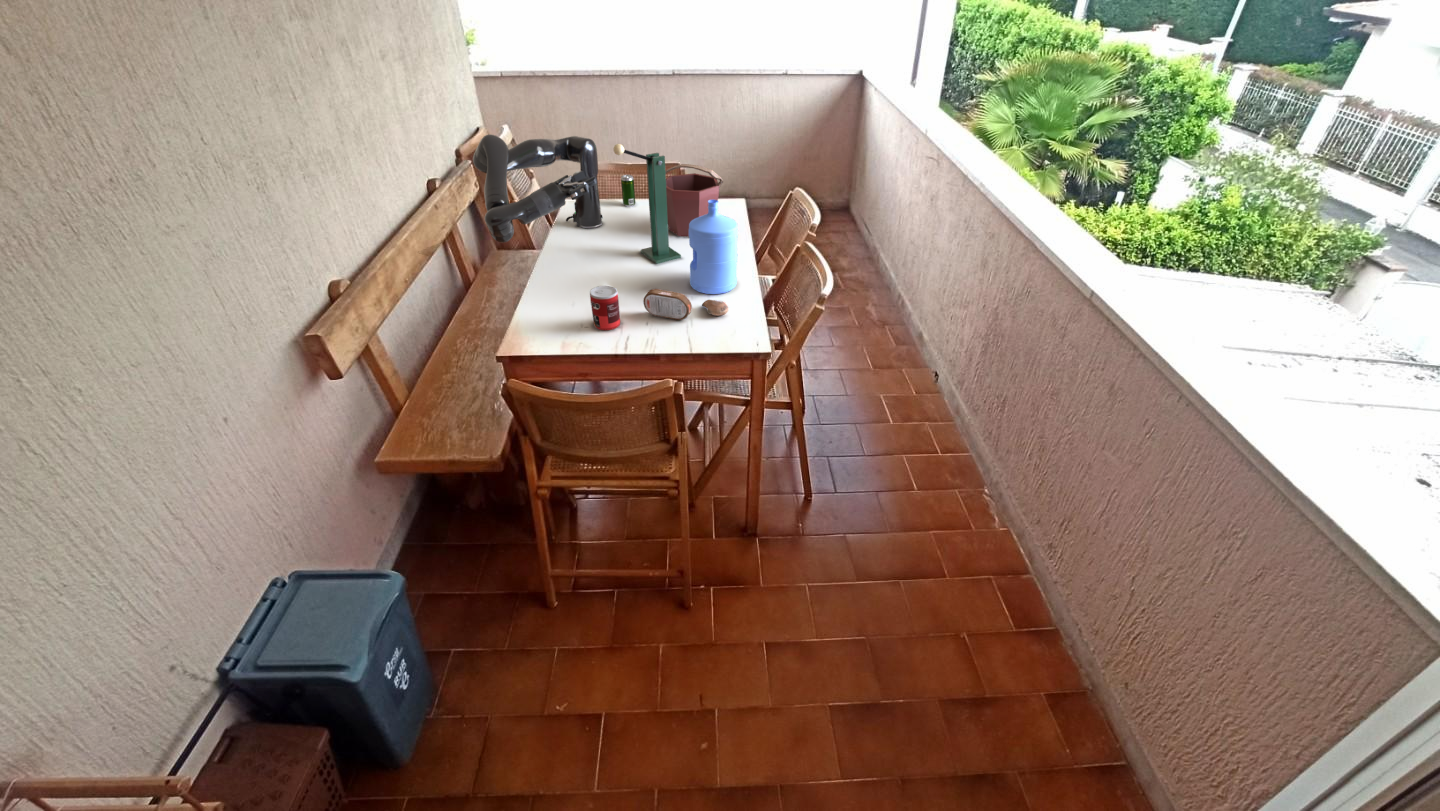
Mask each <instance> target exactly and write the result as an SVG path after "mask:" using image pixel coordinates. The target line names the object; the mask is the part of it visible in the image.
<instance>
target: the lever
mask: <svg viewBox="0 0 1440 811" xmlns="http://www.w3.org/2000/svg"><path fill="white" fill-rule="evenodd" d="M613 153H614V154H615V155H617V156H622V155H623V154H626V155H629V156H633V157H635V158H639V159H643V160H645V161H646V160H648V161H650V163H651V164H652V157H655V156H651V158H650V157H647V156H646V155H644V154H640V153H637V152H634V151H631V150H628V149H625V147H624V146H623V144H621V143H616V144H615V145H614V146H613Z"/></svg>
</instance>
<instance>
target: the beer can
mask: <svg viewBox="0 0 1440 811" xmlns="http://www.w3.org/2000/svg"><path fill="white" fill-rule="evenodd" d="M620 186H621V196H622V203H623V206H624V207H626V208H628V207H629V208H630V207H634V206H636V191H635V179H634V175H632V174H623V175H621V178H620Z"/></svg>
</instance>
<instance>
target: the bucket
mask: <svg viewBox="0 0 1440 811" xmlns="http://www.w3.org/2000/svg"><path fill="white" fill-rule="evenodd" d="M682 168H683V169H684V168H686V169H694V170H697V171H701V172H703V173H707V174H708V175H706V174H700V173H694V172H693V173H685V174H684V173H683V174H673V175H669V176H668V177H667V176H666V194H667V216H668V231H670V232H671V233H673V234H674V235H676V236H677V237H682V238H683V237H684V238H685V237H687V238H689V223H690V222H691V221H692V220H693V219H695V218H698V217H700V216H703V215H706V214H708V206H709V203H708V201H709V200H718V201H719V196H720V187H721V186H722V184H723V183H724V180H723V179H722V177H721V176H720V175H719V174H717V173H716V172H715V171H714V170H713V169H710V168H707V167H705V166H702V165H697V164H692V163H691V164H690V163H681V164H677V165H675V166H672V167H670V168H667V169H665V172H666V174H668V173H669V172H672V171H674V170H678V169H682Z"/></svg>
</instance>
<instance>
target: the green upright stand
mask: <svg viewBox="0 0 1440 811" xmlns="http://www.w3.org/2000/svg"><path fill="white" fill-rule="evenodd" d="M645 156H647V157H650V158H651V156H655V157H652V164H651V163H650V161H648V160H645V161H646V162H645V163H646V174H647V175H646V177H647V193H648V194H647V195H648V208H649V209H648V210H649V226H650V242H651V246H650V247H646V248H641V249H640V254H641V255H643V256H644V257H646V258H647V259H649V260H650V261H651V262H652V263H654V264H655V265H658V264H663V263H667V262H670V261H674V260H675V261H676V260H679V259H682V256H681V253H679V252H678V251H676V250H674V249H673V248H671V247H670V241H669V227H668V216H667V194H666V178H667V175H666V174H667V173H666V172H665V171H666V156H665V155H660V153H659V152H652V153H647V154H645Z"/></svg>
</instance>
